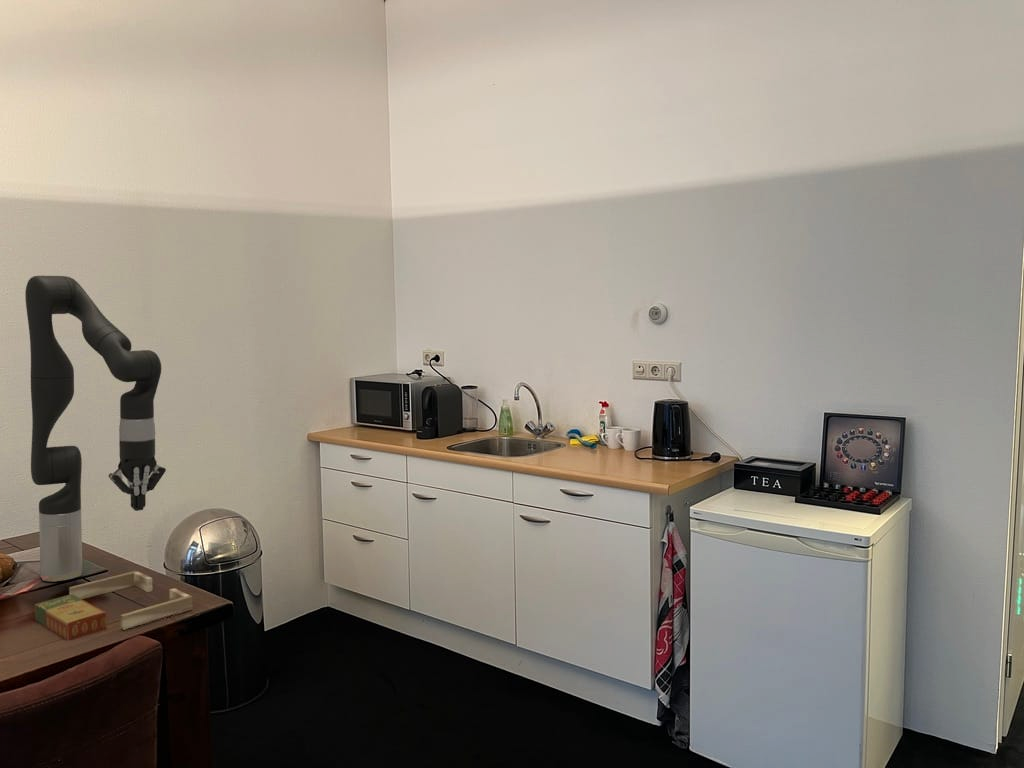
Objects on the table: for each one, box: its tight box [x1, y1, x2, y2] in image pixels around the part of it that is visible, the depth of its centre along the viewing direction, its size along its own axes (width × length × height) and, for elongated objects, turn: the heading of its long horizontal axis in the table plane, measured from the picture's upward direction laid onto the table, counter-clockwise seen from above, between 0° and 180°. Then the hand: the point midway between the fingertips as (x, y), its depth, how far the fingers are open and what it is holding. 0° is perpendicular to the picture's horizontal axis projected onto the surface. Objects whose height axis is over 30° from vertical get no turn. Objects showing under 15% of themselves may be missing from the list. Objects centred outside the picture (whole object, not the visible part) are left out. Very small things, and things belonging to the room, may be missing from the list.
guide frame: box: [68, 570, 193, 631], centre depth 188 cm, size 25×16×3 cm, turn 52°
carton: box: [34, 594, 107, 641], centre depth 177 cm, size 8×16×4 cm, turn 52°
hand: (138, 509), depth 190 cm, fingers closed
